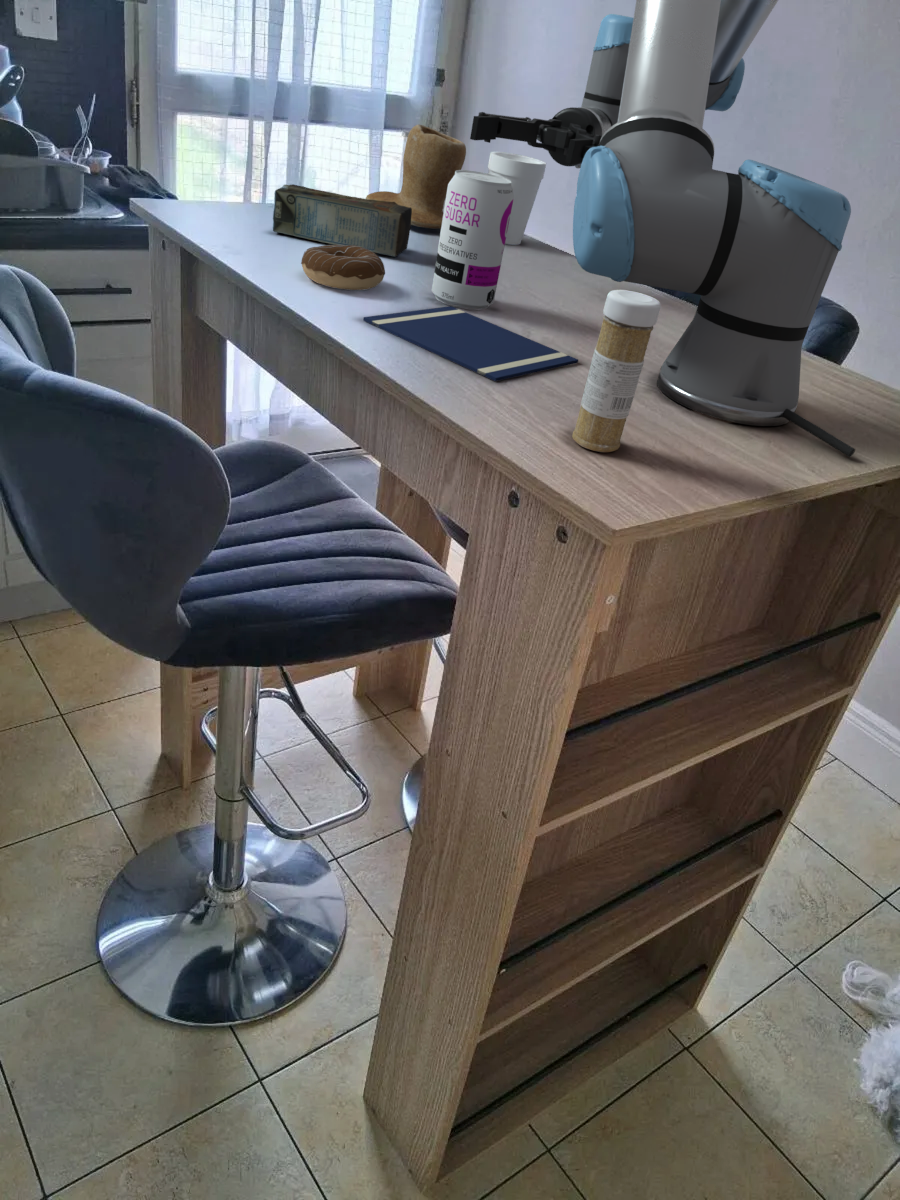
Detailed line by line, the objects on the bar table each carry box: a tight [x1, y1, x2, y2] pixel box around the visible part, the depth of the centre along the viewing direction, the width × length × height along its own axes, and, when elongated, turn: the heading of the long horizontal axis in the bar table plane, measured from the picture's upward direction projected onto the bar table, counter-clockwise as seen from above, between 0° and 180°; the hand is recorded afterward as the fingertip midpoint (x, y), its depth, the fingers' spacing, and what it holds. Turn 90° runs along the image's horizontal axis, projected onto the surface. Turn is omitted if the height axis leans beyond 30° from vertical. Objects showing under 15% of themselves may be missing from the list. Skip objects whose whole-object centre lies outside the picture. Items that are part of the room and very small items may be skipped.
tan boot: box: [365, 124, 467, 230], centre depth 151 cm, size 15×12×15 cm
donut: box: [300, 244, 386, 291], centre depth 113 cm, size 11×11×4 cm
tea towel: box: [362, 305, 579, 382], centre depth 102 cm, size 20×15×1 cm
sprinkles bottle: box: [571, 289, 661, 453], centre depth 79 cm, size 5×5×13 cm
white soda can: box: [431, 169, 514, 311], centre depth 113 cm, size 8×8×15 cm
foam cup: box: [487, 151, 547, 246], centre depth 152 cm, size 10×9×13 cm
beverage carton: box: [272, 183, 412, 258], centre depth 132 cm, size 8×19×7 cm, turn 81°
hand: (521, 139), depth 114 cm, fingers open, 13 cm apart
